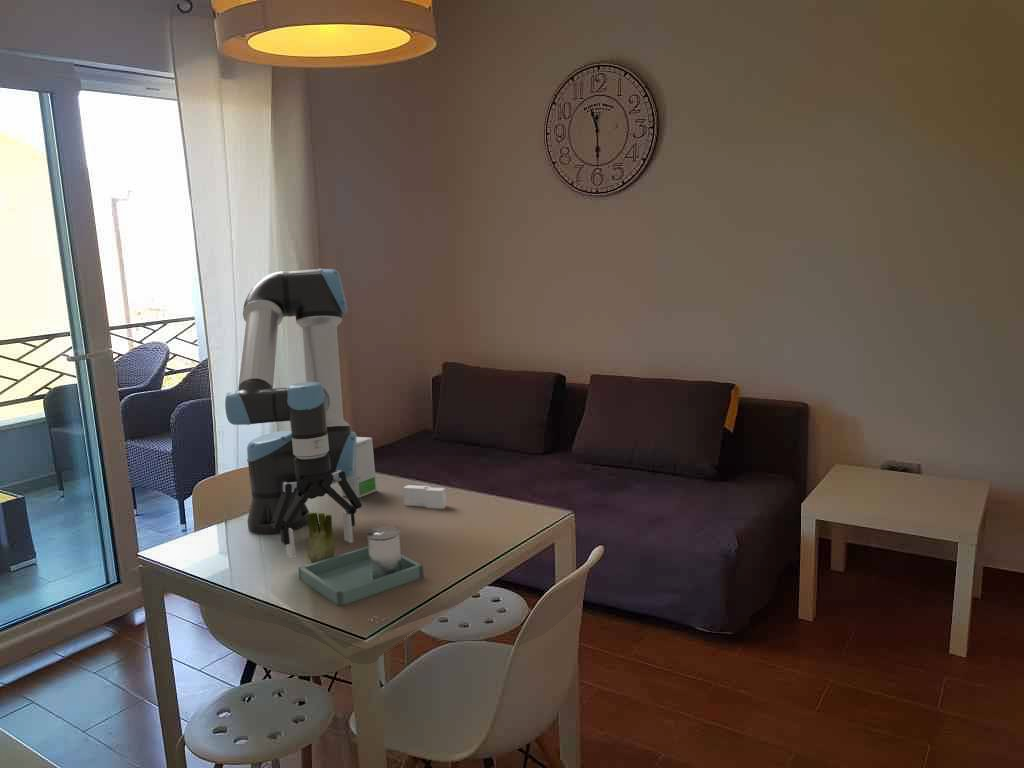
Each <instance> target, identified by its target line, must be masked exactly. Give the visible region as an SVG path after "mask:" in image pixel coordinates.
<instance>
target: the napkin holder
mask: <svg viewBox="0 0 1024 768" xmlns="http://www.w3.org/2000/svg"><path fill="white" fill-rule="evenodd" d="M403 498H404V499H403V500H404V501H403V502H404V506H409V507H410V506H411V507H425V508H426V509H437V510H438V509H440V510H441V509H442V510H444V509H445V508H446V507H447V496H446V488H445V487H432V486H431V485H414V484H413V485H410V484H408V485H405V486H404V487H403Z"/></svg>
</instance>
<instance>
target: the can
mask: <svg viewBox="0 0 1024 768" xmlns="http://www.w3.org/2000/svg"><path fill="white" fill-rule="evenodd" d="M366 538H367V540H366V541H367V546H368V552H369V563H370V574H371V581H372V580H375V579H378V578H381V577H383V576H386V575H389V574H392V573H395V572H398V571H401V570H402V564H401V555H402V554H401V542H400V528H398V527H394V526H380V527H379V526H378V527H374V528H372V529H370V530H368V531H367V532H366Z"/></svg>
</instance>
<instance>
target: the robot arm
mask: <svg viewBox="0 0 1024 768" xmlns="http://www.w3.org/2000/svg"><path fill="white" fill-rule="evenodd" d="M342 282H343V281H342V277H341V275H340V273H339V271H337V270H336V269H334V268H317V269H315V268H313V269H301V270H288V271H287V270H286V271H285V270H281V271H280V270H279V271H275V272H273V273H270V274H268V275H266V276H264V277H263V278H261V279H260V280H259V281H258V282H256V284H255V285H254V286H253V287H252V288H251V290H250V291H249V292H248V294H247V296H246V298H245V300H244V304H243V311H242V318H243V320H244V322H245V327H244V328H245V329H244V339H243V347H242V355H241V363H240V370H239V371H240V372H239V379H238V387H237V388H238V389H237V390H234V391H229V392H227V393H226V396H225V400H224V405H225V415H226V419H227V421H228V423H230V424H231V425H233V426H234V425H235V426H238V425H240V426H241V425H245V426H246V425H247V426H250V425H257V424H267V423H276V422H277V423H278V422H289V423H290V430H280V431H279V430H277V431H274V432H271V433H267V434H263V435H260V436H257V437H255V438H253V439H252V440H250V441H249V443H248V444H247V447H246V450H247V451H246V453H247V455H246V456H247V459H246V462H247V466H248V474H249V482H250V491H251V504H250V507H249V512H248V515H247V529H248V531H249V532H250V533H253V534H257V535H277V534H280V539H281V541H280V542H281V543H282V545H284V546H285V548H286V557H288V558H289V559H291V560H292V561H293V560H296V559H297V557H296V548H295V539H294V537H295V536H294V531H296V530H299V529H300V528H304V527H305V526H306V525H308V518H307V514H308V513H310V511H309V509H308V508H309V507H307V505H306V502H307V501H308V499H311V500H313V499H315V498H318V497H321V498H322V497H324V496H325V495H328V496H329V497H330V498H332V499H333V501H335V502H336V503H337V504H338V505H339V506H340V507H342V508H343V509H344V510H345V511H342V512H341V514H342V515H341V516H342V527H343V538H344V541H345V542H348V543H349V544H351V543H352V544H353V543H354V535H353V533H354V532H353V527H355V524H356V522H355V520H356V518H355V514H356V513H357V510H358V509H361V508H362V506H363V504H362V503H361V501H360V498H357V496H356V495H355V493H354V491H353V490H352V488H351V487H350V485H349V483H348V482H347V480H346V478H349V477H351V476H352V475H353V473H354V469H355V461H356V438H357V437H358V436H357V433H356V432H354V431H352V430H351V426H350V424H349V423H348V422H347V421H345V419H344V410H343V408H344V407H343V398H342V385H341V383H342V382H341V369H340V356H339V355H340V354H339V353H340V352H339V340H338V326H339V325H340V324H341V323H342V322H343V315H344V314H347V313H348V305H347V299H346V296H345V291H344V287H343V283H342ZM285 317H288V318H290V317H295V323H296V324H297V325H298V326H299V327H300V328H301V329H302V339H303V354H304V357H303V358H304V371H305V372H304V373H305V381H303V382H297V383H293V384H291V385H289V386H288V387H278V388H277V387H276V388H274V381H275V380H274V379H275V377H274V376H275V369H276V368H275V367H276V355H277V341H278V331H279V329H278V328H279V326H280V324H282V321H283V318H285ZM333 481H336V482H337V484H338V485H339V487H340V488H341V491H342V490H343V491H344V493H345V495H346V496H347V497H346V498H347V499H348V501H349V502H350V503H349V502H348V501H346V499H345V498H343V496H342V495H340V494H339V493H338V492H337V491H336V490H335V489H334V488H333V487H332V483H333Z"/></svg>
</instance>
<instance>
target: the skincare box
mask: <svg viewBox="0 0 1024 768" xmlns="http://www.w3.org/2000/svg"><path fill="white" fill-rule="evenodd" d="M356 437H357V438H356V461H355V469H354V473H353V475H352V476H351V477H349V478H346V480H347V482H348V483H349V485H350V487H351V488H352V490H353V491H354V493H355V495H356V496H357V498H358V499H361V498H362V497H365V496H367V495H370V494H372V493H374V492H377V491H378V489H377V488H378V487H377V477H376V468H375V467H376V466H375V458H374V457H375V456H374V444H373V437H365V436H356ZM341 497H346V498H347V496H346V495H345V493H344V491H343V490H342V489H341Z"/></svg>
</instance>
